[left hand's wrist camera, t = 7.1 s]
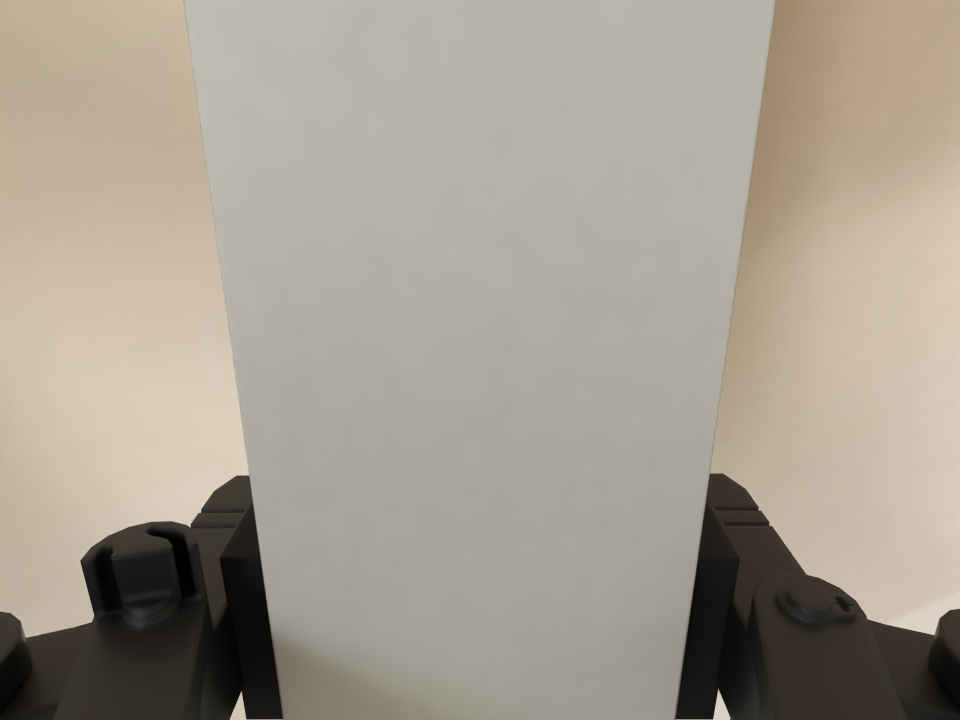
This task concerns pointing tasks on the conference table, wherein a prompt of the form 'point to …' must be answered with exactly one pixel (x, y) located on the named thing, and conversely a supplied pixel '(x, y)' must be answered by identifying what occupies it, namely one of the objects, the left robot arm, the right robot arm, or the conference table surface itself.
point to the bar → (479, 335)
